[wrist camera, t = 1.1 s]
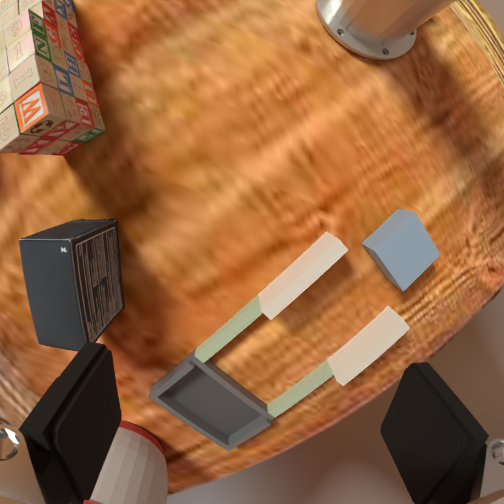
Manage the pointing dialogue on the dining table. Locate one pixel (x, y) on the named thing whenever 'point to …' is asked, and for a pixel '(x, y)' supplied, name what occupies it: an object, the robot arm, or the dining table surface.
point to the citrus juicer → (132, 470)
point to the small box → (73, 281)
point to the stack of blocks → (44, 80)
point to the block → (402, 248)
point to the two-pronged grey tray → (236, 396)
